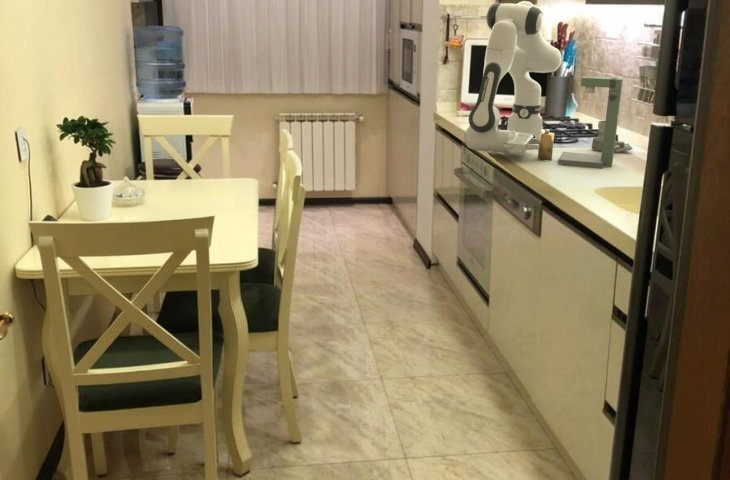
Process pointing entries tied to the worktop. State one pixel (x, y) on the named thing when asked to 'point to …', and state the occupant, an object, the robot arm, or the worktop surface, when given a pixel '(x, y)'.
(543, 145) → the tan upright block
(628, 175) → the worktop surface
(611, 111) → the press
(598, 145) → the camera
